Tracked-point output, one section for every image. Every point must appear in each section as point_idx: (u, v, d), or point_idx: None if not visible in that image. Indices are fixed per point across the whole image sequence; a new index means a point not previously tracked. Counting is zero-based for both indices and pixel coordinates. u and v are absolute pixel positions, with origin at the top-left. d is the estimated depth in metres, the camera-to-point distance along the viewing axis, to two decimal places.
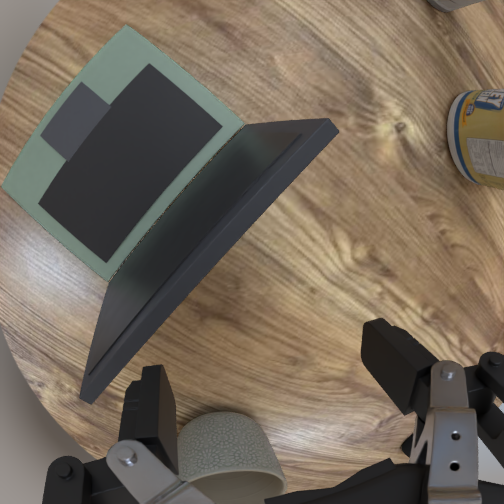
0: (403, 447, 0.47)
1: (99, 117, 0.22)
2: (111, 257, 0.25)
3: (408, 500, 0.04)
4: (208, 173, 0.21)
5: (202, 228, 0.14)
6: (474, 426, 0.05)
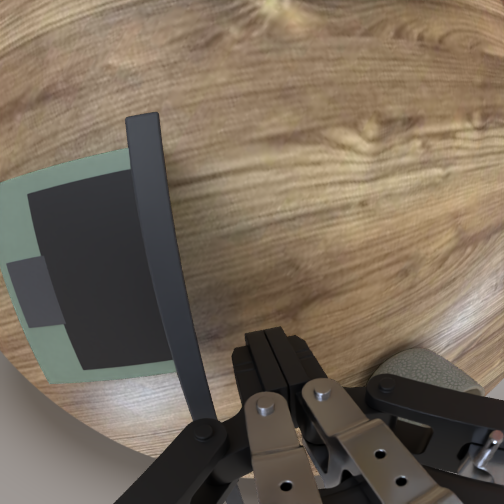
0: None
1: (45, 272, 0.20)
2: None
3: None
4: None
5: None
6: (392, 435, 0.06)
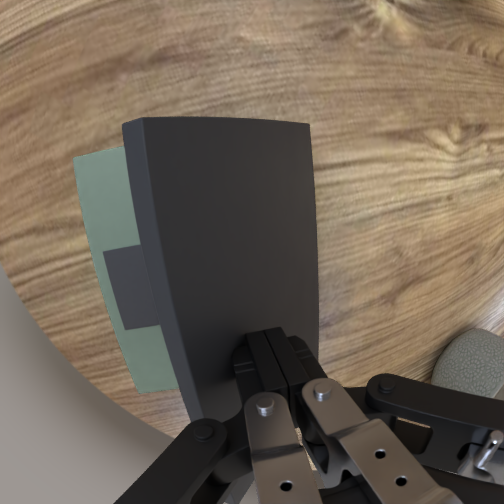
0: None
1: None
2: None
3: None
4: None
5: None
6: (392, 435, 0.06)
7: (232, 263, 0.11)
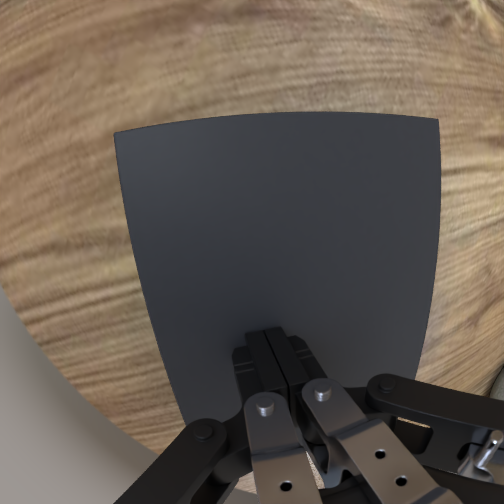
0: None
1: None
2: None
3: None
4: None
5: None
6: (392, 435, 0.06)
7: (232, 263, 0.11)
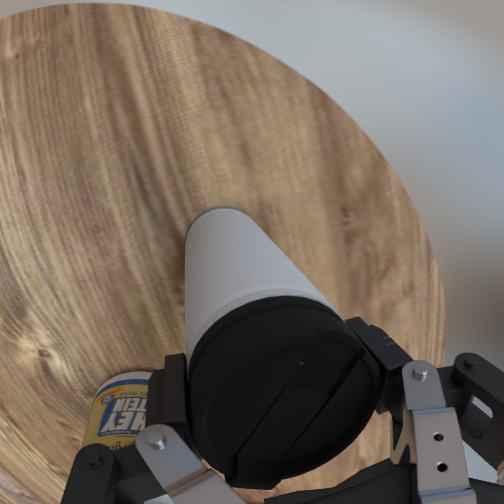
0: None
1: None
2: None
3: (408, 500, 0.04)
4: None
5: None
6: (456, 425, 0.05)
7: None
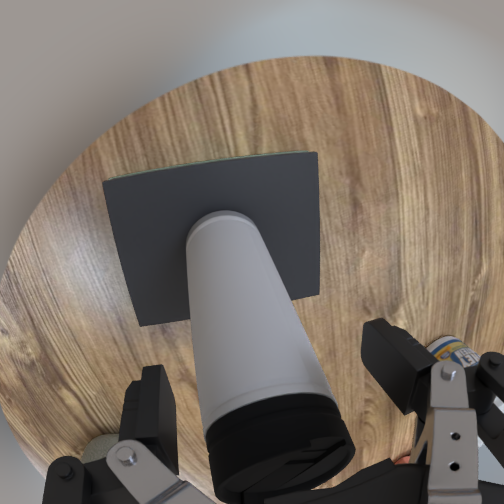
0: None
1: None
2: None
3: (408, 500, 0.04)
4: None
5: None
6: (474, 426, 0.05)
7: (263, 195, 0.26)
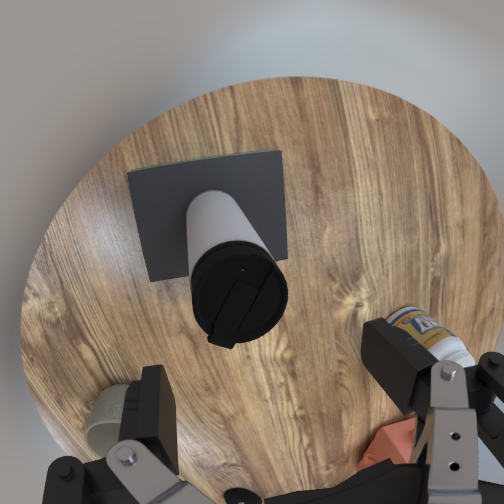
0: (226, 493, 0.60)
1: None
2: None
3: (408, 500, 0.04)
4: None
5: None
6: (474, 426, 0.05)
7: (241, 182, 0.36)
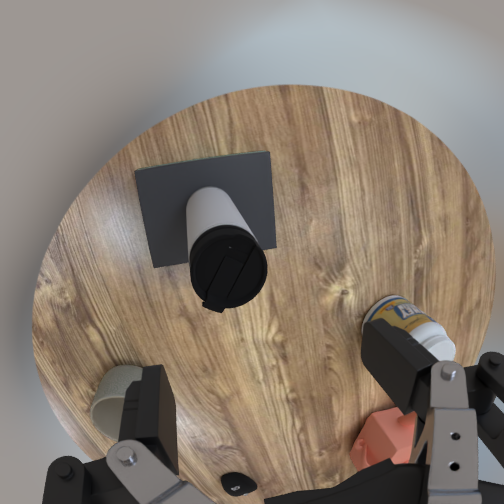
0: (223, 477, 0.65)
1: None
2: None
3: (408, 500, 0.04)
4: None
5: None
6: (474, 426, 0.05)
7: (235, 179, 0.41)
